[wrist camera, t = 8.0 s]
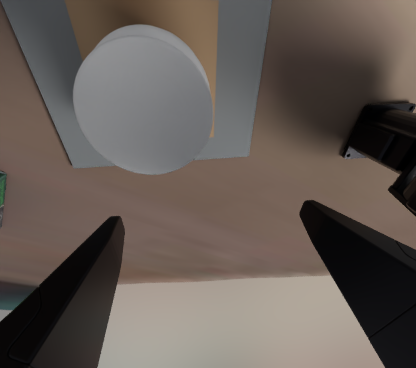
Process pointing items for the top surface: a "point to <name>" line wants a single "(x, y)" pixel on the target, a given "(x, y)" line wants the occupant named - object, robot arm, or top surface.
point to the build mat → (71, 61)
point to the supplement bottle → (144, 100)
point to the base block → (155, 16)
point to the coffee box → (2, 194)
